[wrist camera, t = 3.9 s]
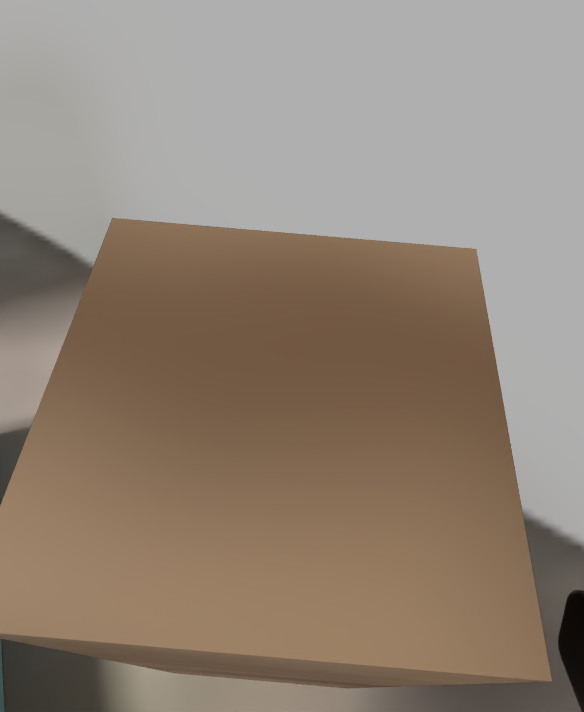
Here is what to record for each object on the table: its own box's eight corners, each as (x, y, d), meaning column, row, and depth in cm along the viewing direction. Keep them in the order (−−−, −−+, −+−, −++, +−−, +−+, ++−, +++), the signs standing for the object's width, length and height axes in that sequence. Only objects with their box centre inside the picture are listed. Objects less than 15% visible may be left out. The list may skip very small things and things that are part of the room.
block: (347, 688, 15) (551, 681, 4) (174, 672, 15) (-48, 629, 4) (349, 513, 17) (476, 249, 7) (203, 501, 17) (112, 218, 7)
